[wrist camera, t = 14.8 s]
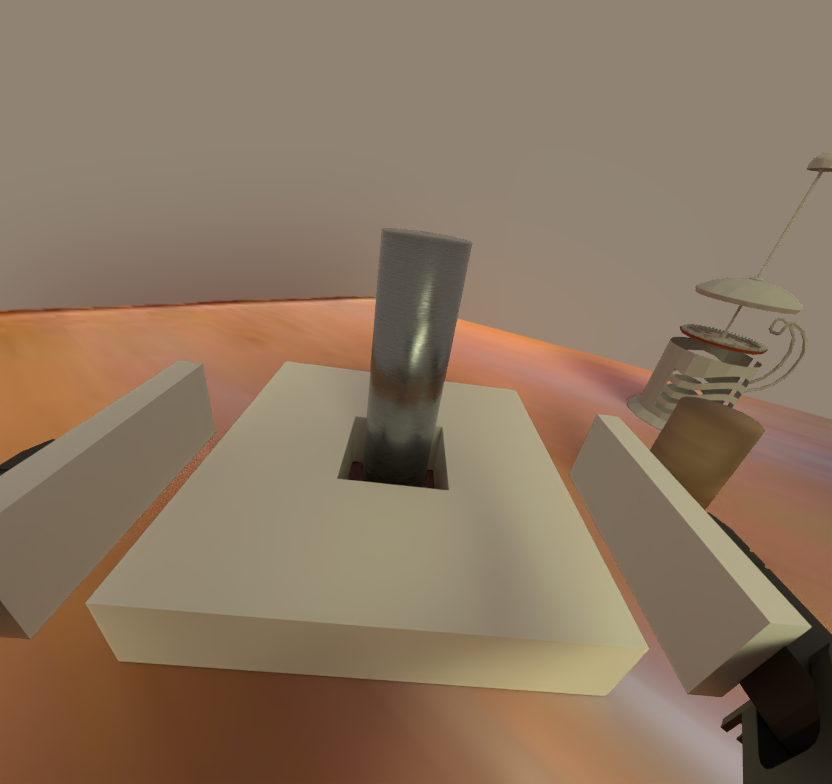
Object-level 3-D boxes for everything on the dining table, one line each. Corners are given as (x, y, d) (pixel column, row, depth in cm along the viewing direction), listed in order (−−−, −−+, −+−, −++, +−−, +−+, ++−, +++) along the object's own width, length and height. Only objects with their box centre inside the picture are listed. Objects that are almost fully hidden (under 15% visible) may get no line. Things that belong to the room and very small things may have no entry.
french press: (618, 388, 44) (730, 154, 32) (718, 411, 42) (879, 171, 30) (639, 428, 36) (803, 131, 24) (766, 460, 33) (1018, 152, 21)
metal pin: (420, 479, 25) (466, 238, 17) (420, 525, 21) (478, 247, 13) (364, 473, 24) (385, 226, 17) (355, 518, 21) (377, 232, 13)
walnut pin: (653, 502, 26) (721, 400, 22) (695, 549, 22) (784, 437, 18) (605, 499, 25) (664, 393, 21) (639, 546, 22) (719, 430, 18)
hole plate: (504, 427, 32) (515, 390, 30) (605, 695, 15) (649, 648, 13) (288, 401, 31) (285, 361, 29) (118, 661, 13) (85, 603, 12)
